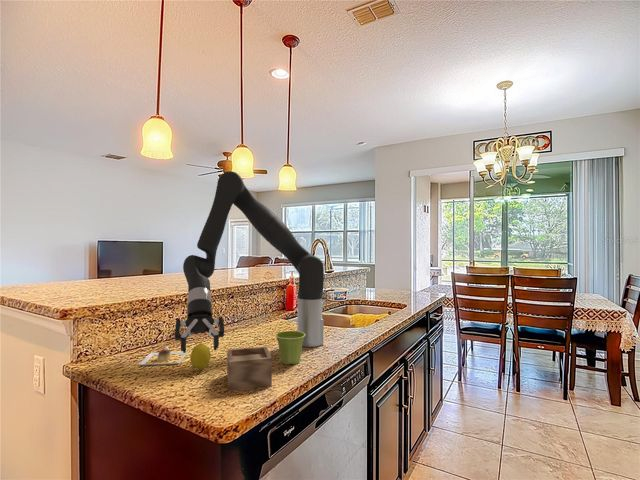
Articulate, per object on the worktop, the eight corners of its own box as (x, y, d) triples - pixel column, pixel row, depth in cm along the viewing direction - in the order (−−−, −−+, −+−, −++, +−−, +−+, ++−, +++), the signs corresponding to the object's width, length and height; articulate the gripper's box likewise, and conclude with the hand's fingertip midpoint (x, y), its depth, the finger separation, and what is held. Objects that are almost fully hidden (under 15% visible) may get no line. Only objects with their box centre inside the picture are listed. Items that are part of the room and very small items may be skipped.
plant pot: (293, 369, 104) (293, 340, 104) (269, 363, 109) (269, 335, 109) (310, 360, 112) (311, 333, 112) (287, 355, 117) (287, 329, 117)
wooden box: (266, 372, 101) (266, 346, 102) (271, 387, 91) (272, 358, 91) (227, 375, 98) (227, 349, 98) (228, 391, 88) (228, 361, 88)
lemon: (193, 367, 104) (193, 340, 104) (212, 367, 105) (212, 340, 105) (187, 374, 99) (188, 346, 99) (207, 373, 99) (208, 345, 99)
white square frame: (137, 368, 104) (137, 352, 105) (150, 356, 116) (150, 341, 116) (179, 366, 106) (179, 350, 106) (187, 354, 118) (188, 340, 118)
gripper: (175, 298, 108) (173, 345, 97) (223, 296, 113) (226, 341, 102) (175, 312, 113) (174, 359, 102) (221, 310, 118) (224, 354, 107)
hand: (200, 350), depth 102 cm, fingers open, 8 cm apart
